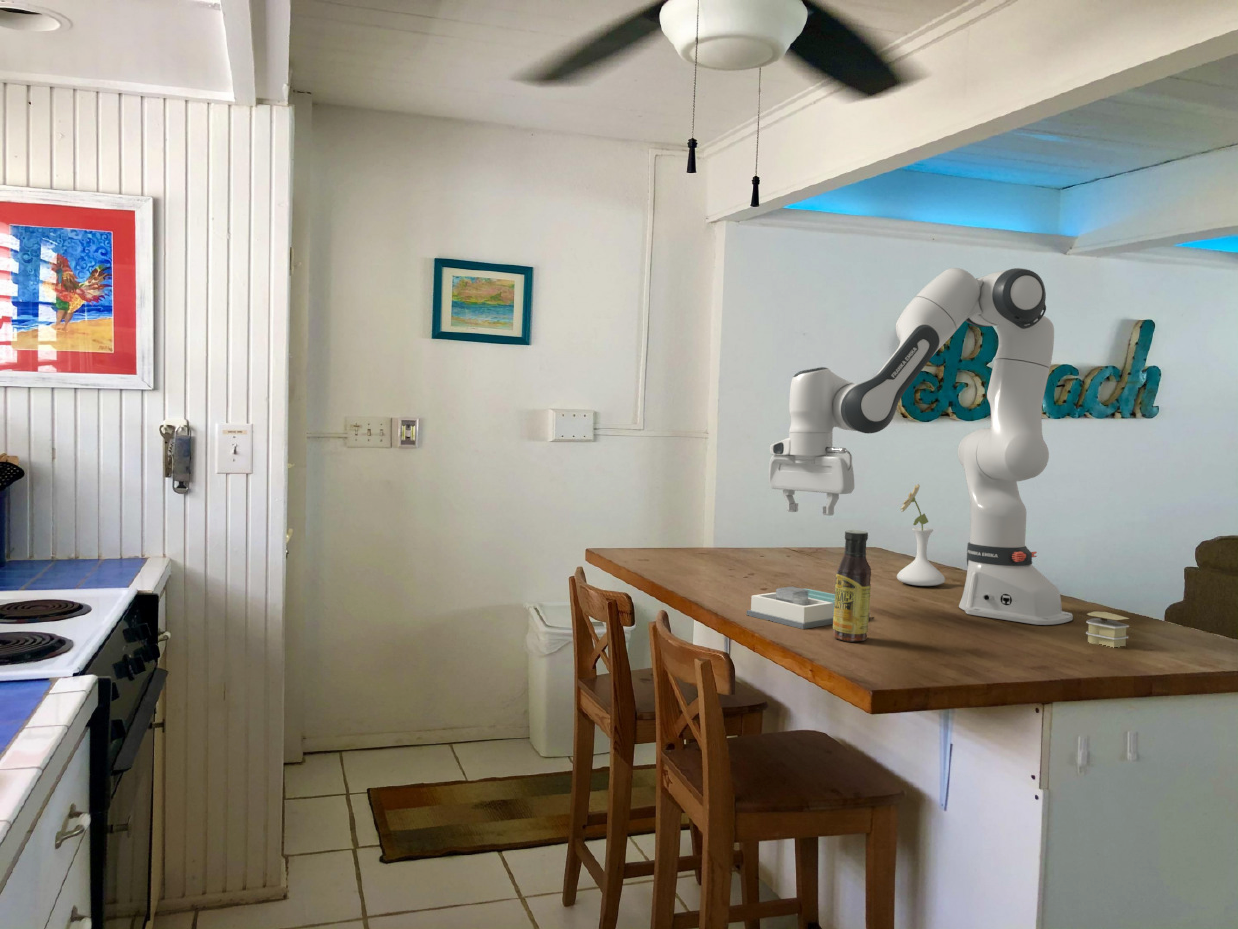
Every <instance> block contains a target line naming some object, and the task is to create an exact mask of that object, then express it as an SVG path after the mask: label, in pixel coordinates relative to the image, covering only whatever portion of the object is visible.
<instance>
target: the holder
mask: <svg viewBox="0 0 1238 929" xmlns="http://www.w3.org/2000/svg"><path fill="white" fill-rule="evenodd" d="M804 589H806V590H809V595H808V605H807V606H802V605H797V604H793V603H788V602H784V601H779V600H776V591H775V592H770V593H769V592H768V593H761V594H754V595H751V599H750V600H751V601H750V609H747V610H746V616H748V615H749V617H751V618H757V619H761V620H764V619H766V620H765V621H768V620H770V621H769V622H772V621H773V622H774V623H777V624H781V625H786V626H789V627H793V628H796V629H802V630H806V629H811V628H817V627H822V626H823V627H824V626H828V625H833V617H834V602H835V593H830V592H825V591H820V590H815V589H811V588H810V589H809V588H804ZM870 614H871V613H870V612H869V616H870ZM773 622H772V623H773Z"/></svg>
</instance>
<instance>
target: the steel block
mask: <svg viewBox="0 0 1238 929" xmlns="http://www.w3.org/2000/svg"><path fill="white" fill-rule="evenodd" d="M775 588H776V587H775ZM806 589H807V588H806ZM806 589H805V588H800V587H796V586H786V587H778V588H776V590H775V592H776V600H779V601H784V602H788V603H793V604H797V605H802V606H807V605H808V595H809V590H806Z"/></svg>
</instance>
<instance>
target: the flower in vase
mask: <svg viewBox="0 0 1238 929" xmlns="http://www.w3.org/2000/svg"><path fill="white" fill-rule="evenodd" d="M920 487H921V486H920V483H918V484H916V485H914V487H913V488H912V489H913V490H912V491H910V492H909V493H908V498H907V499H906V500H904V501H903V503H902V506H901V507H900V511H901V513H902V512H904V511H906V510H907V509H908V508H909V507H910V505H911V504H912V503H914V504H915V505H916V508H917V510H918V513H919V516H917V517H916V518H915V519H914V521H913V523H912V525H913V526H916V525H917V524H918V523H920V526H921V527H913V528H911V530H912V532H913V533H914V535H915V536H914V537H915V539H916V555H915V559H914V560H913V561H911V563H909V564H908V565H906V566H904V568H902V569H901V570H899V572H898V573H897V575H896V578H897V580H898V581H899V582H902V583H904V584H907V585H911V586H918V587H932V586H939V585H941V584H943V583H944V582H945V581H946V578H945V575H944V574H943V573H941V572H940V571H939V570H938V569H937V567H935V566H934V565H933V564H932V563H931V562H930V561H929V559H928V554H927V552H928V551H927V550H928V549H927V548H928V542H929V537H930V535H931V534H932V533H933V532H934V529H932V528H925V527H924V525H925V524H928V523H929V519H928V518H927V516H926V514H925V513H923V514H922V512H921V509H920V507H919V504H918V502H917V501H916V498H915V497H916V496H917V494H918V492H919V490H920Z"/></svg>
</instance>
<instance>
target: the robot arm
mask: <svg viewBox="0 0 1238 929" xmlns="http://www.w3.org/2000/svg"><path fill="white" fill-rule="evenodd" d="M1046 295H1047V294H1046V287H1045V284H1044V281H1043V279H1042V278H1041V277H1040V275H1039V274H1038V273H1036V272H1035V271H1033V270H1030V269H1027V268H1020V267H1019V268H1018V267H1017V268H1011V269H1006V270H999V271H994V272H992V273H988V274H987V275H985V276H981V277H977V278H976V277H975V276H974V275H973V274H972V273H970V271H969V272H968V271H967V270H965V269H963V268H959V267H950V268H948V269H946V270H944V271H942V272H941V273H939V274H938V275H937V276H936V277H934V278H933V279H932V280H931V281H930V282H928V283H927V284H926V285H925V286H924V287H923V288H922V289H921V290H920V291H919V292H918V293H917V295H915V296H914V298H912V300H910V302H908V304H907V305H906V307H904V309H903V311H902V312H901V313H900V316H899V317H898V319H897V321H896V323H895V333H896V336H897V339H898V341H899V345H898V347H897V348H896V350H895V352H893V354H892V355H890V357H889V359H888V360H887V361H886V362H885V363H884V365H882V368H880V369H879V371H878V372H877V374H875V375H874V376H873V377H872V378H870V379H868V380H865V381H863V382H861V383H853V382H852V381H850V380H847V379H845V378H842V377H840V376H839V375H837V374H836V373H835V372H832V371H831V369H829V367H824V366H821V367H815V368H810V369H804V370H800V371H798V372H796V373H795V374H794V375H793V376H792V378H791V382H790V387H789V388H790V389H789V402H788V404H789V405H788V412H789V415H790V426H789V429H788V437H787V438H784V439H782V440H780V441H777V442H774V443H772V444H770V446H769V453H770V455H772V456H771V457H770V459H769V462H768V484H769V486H770V488H771V489H773V490H782V495H783V496H782V497H783V498H784V500H785V502H786V504H787V511H788V512H791V513H795V512H796V513H797V512H799V503H797V502H796V501H795V497H794V496H795V491H797V492H809V493H810V492H811V493H822V494H826V499H828V500H827V503H826V505H825V506H822V515H823V516H829V517H830V516H834V514H835V506H836V504H837V503H838V501H839V499H840V496H839V495H849V494H852V492H854V490H855V474H854V467H853V456H852V453H851V452H850V451H849V450H847V448H846V447H833V431H834V430H833V429H834V428H838V429H841V430H846V431H850V432H851V431H852V432H858V433H862V434H875V433H878V432H881V431H882V430H884V429H886V428H887V427H888V426H889V425H890V423H891V422H892V420H893V419H894V416H895V414H896V411H897V408H898V405H899V403H900V401H901V398H902V396H903V395H904V394H905V392H906V391H907V389H908V388H909V387H910V385H912V383H913V382H914V381H915V379H916V378H917V376H918V375H919V374H920V373H921V371H922V370H923V369H924V368H925V367H926V365H927V364H928V363H929V362H930V360H931V359H932V357H933V356H935V354H936V352H937V351H939V349H940V348H941V347H943V345H945V344H946V342H947V341H949V339H950V338H951V337H952V336H953V335H954V334H955V333H956V331H957V330H958V329H959V328H960V327H961V326H962V324H963V323H964V322H967V323H968V324H970V325H973V326H975V327H982V328H985V327H986V328H987V327H996V329H997V332H998V347H997V350H996V354H995V358H994V362H993V366H992V370H991V375H990V380H989V384H988V388H987V393H986V399H987V400H988V403H989V406H990V427H982V428H979V429H976V430H973V431H972V432H970V433H968V434H966V435H965V436H964V437H963V438H962V439H961V440H960V443H959V445H958V448H957V458H958V461H959V462H960V464H961V466H962V468H963V471H964V474H965V479H966V485H967V490H968V496H969V503H970V504H969V505H970V518H969V519H970V522H969V523H970V525H969V526H970V529H969V542H968V543H967V547H966V548H967V549H966V565H967V569H966V570H967V571H966V578H965V584H964V588H963V592H962V597H961V599H960V602H959V604H958V607H959V608H960V609H961V610H963V611H964V612H965V614H967V615H971V616H972V615H973V616H977V617H983V618H984V617H985V618H991V619H998V620H1005V621H1011V622H1018V623H1023V624H1031V625H1037V626H1039V625H1040V626H1042V625H1043V626H1049V625H1061V624H1064V623H1068V622H1071V621H1072V620H1073V619H1074V616H1073V614H1072V612H1067V611H1063V608H1062V598H1061V593H1060V591H1059V589H1058V587H1057V586H1056V585H1055V584H1054V583H1053V582H1052V581H1050V580H1049V579H1048V578H1047V577H1046V576H1044V575H1043V573H1042V572H1040V570H1038V569H1037V568H1036V567H1035V566H1034V565H1033V558H1036V557H1037V555H1035V554H1038V552H1037V551H1031V550H1030V549H1029V548H1028V547H1027V545H1026V532H1027V530H1026V528H1027V509H1026V506H1025V504H1024V503H1023V500H1022V498H1021V495H1020V491H1019V486H1018V482H1022V481H1026V480H1030V479H1033V478H1036V477H1038V476H1040V474H1042V473H1043V471H1044V470H1045V469H1046V467H1047V465H1048V463H1049V458H1050V453H1049V448H1048V445H1047V443H1046V442H1045V439H1044V436H1043V424H1042V423H1043V422H1042V412H1043V411H1042V410H1043V402H1044V396H1045V392H1046V389H1047V388H1046V387H1047V383H1048V378H1049V373H1050V369H1051V365H1052V360H1053V355H1054V353H1053V352H1054V344H1055V327H1054V323H1053V322H1052V321H1051V319H1049V318H1048V317H1047V316H1045V313H1046V311H1047V306H1046V299H1047V298H1046Z"/></svg>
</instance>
